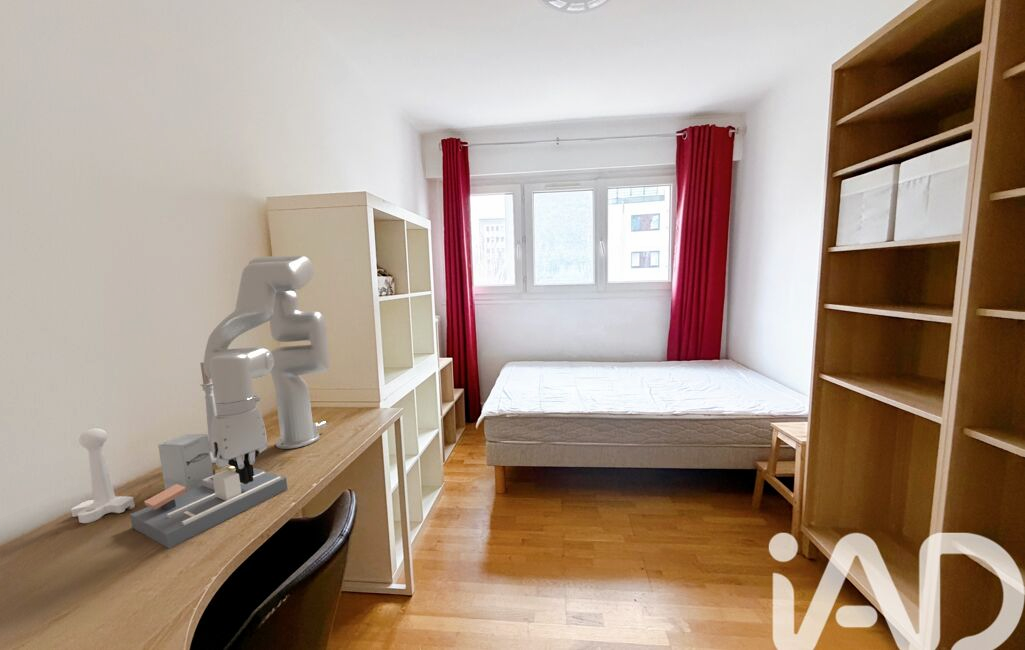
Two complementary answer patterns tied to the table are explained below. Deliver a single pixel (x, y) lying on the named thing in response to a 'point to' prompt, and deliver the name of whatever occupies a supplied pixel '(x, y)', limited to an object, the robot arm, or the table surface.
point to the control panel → (203, 509)
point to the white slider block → (227, 485)
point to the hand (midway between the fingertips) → (246, 481)
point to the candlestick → (209, 405)
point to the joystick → (99, 482)
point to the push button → (221, 469)
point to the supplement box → (186, 460)
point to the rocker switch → (165, 496)
